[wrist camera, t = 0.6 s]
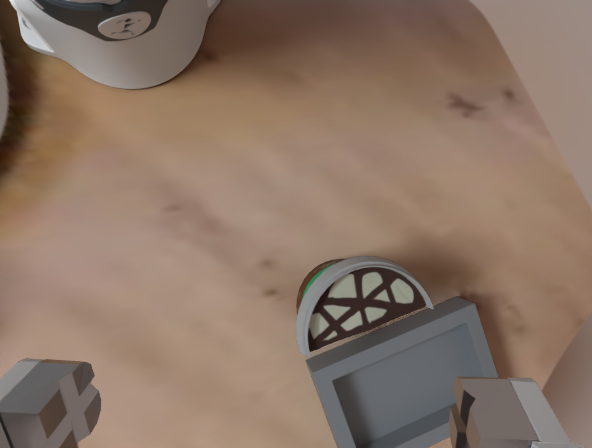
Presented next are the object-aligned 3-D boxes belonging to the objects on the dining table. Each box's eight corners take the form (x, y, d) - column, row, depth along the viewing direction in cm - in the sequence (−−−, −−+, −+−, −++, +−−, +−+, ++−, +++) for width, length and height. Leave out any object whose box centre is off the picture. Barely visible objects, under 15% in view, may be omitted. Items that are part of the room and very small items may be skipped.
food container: (376, 231, 46) (418, 238, 36) (393, 285, 47) (439, 306, 37) (266, 271, 44) (279, 289, 35) (285, 326, 45) (303, 360, 35)
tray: (305, 360, 45) (312, 372, 42) (456, 296, 48) (474, 303, 45) (342, 462, 46) (352, 483, 43) (488, 394, 49) (508, 408, 46)
